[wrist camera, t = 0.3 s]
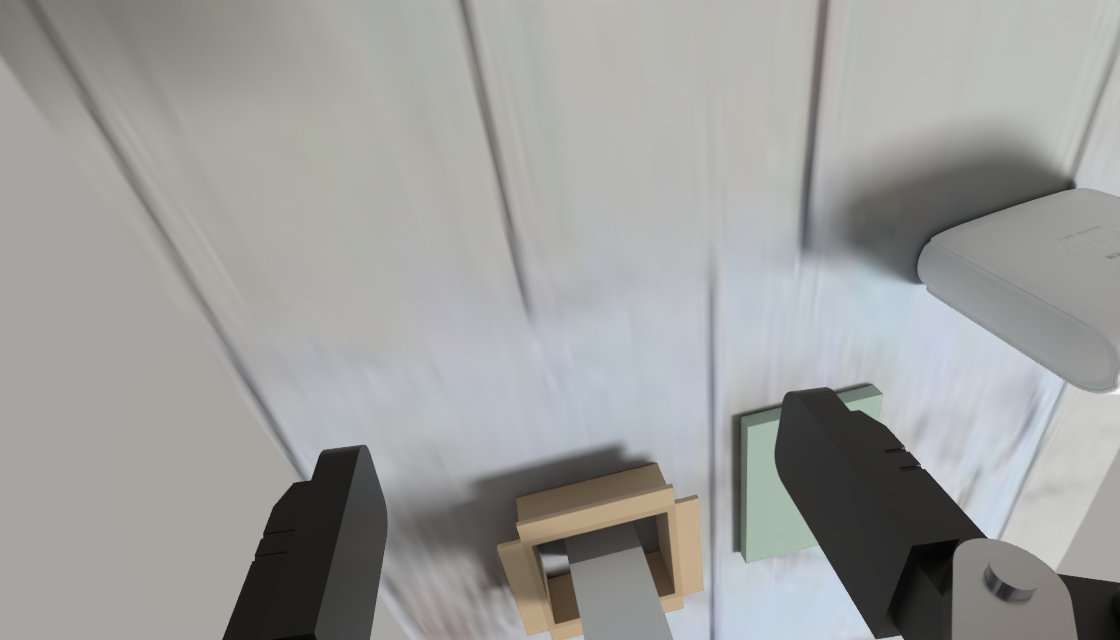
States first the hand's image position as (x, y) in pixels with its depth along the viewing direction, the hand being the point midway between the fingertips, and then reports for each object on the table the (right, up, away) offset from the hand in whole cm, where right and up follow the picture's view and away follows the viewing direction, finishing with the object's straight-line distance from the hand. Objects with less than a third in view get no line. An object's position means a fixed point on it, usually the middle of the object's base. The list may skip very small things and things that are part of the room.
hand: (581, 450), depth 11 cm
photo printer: (+25, +7, +22) cm, 34 cm away
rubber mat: (+17, -9, +30) cm, 35 cm away
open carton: (+2, -12, +29) cm, 31 cm away
